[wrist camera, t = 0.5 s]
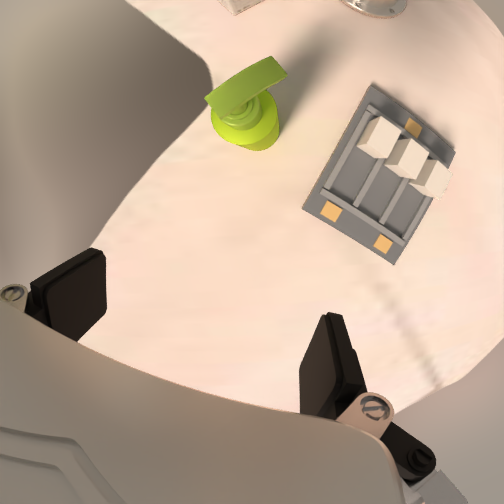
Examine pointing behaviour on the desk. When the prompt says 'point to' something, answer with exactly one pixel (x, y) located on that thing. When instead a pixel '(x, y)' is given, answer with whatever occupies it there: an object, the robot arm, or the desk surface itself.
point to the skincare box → (238, 5)
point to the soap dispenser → (248, 106)
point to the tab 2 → (406, 158)
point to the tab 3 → (432, 179)
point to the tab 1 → (378, 138)
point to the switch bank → (374, 182)
